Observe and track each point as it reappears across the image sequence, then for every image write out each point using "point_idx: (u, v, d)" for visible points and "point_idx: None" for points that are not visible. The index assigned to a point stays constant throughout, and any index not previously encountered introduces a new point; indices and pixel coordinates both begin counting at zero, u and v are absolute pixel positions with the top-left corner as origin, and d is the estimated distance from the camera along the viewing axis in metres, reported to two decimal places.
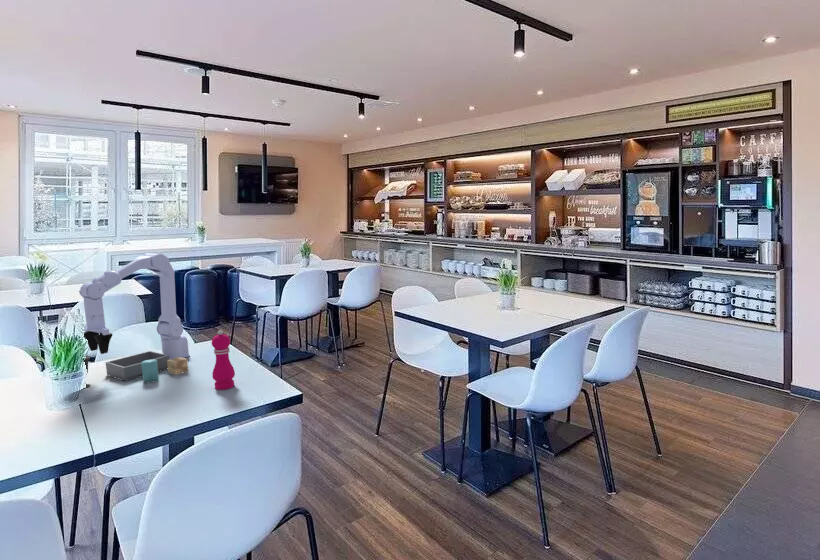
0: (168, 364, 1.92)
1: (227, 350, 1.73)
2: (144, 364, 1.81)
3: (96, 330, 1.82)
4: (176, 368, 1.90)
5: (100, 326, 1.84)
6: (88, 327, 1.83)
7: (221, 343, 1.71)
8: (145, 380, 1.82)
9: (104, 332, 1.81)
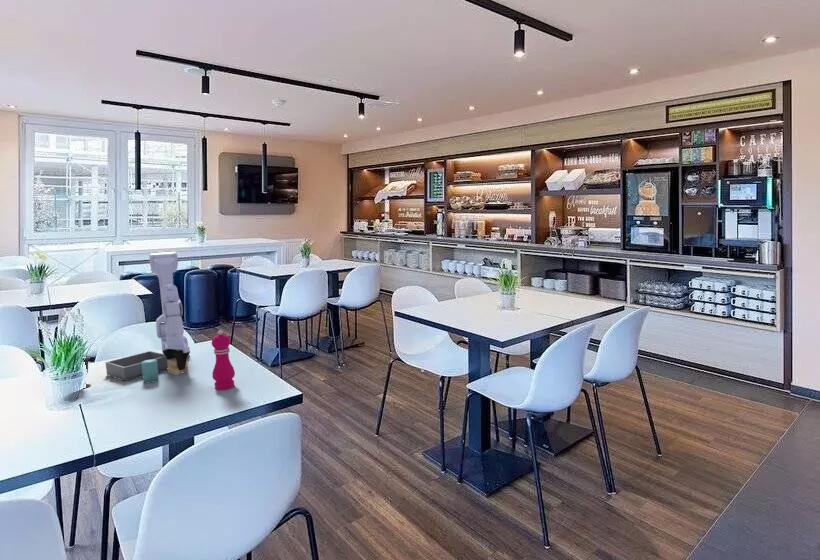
0: (168, 364, 1.92)
1: (227, 350, 1.73)
2: (144, 364, 1.81)
3: (177, 348, 1.88)
4: (176, 367, 1.90)
5: (180, 344, 1.90)
6: (169, 345, 1.89)
7: (221, 343, 1.71)
8: (145, 380, 1.82)
9: (185, 350, 1.87)
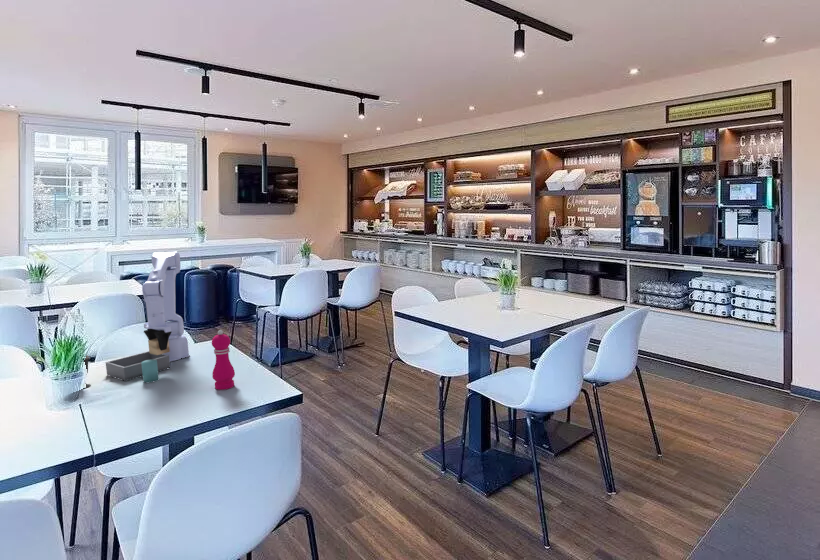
0: (149, 344, 1.90)
1: (227, 350, 1.73)
2: (144, 364, 1.81)
3: (158, 327, 1.86)
4: (158, 348, 1.88)
5: (161, 324, 1.89)
6: (150, 325, 1.87)
7: (221, 343, 1.71)
8: (145, 380, 1.82)
9: (166, 329, 1.86)
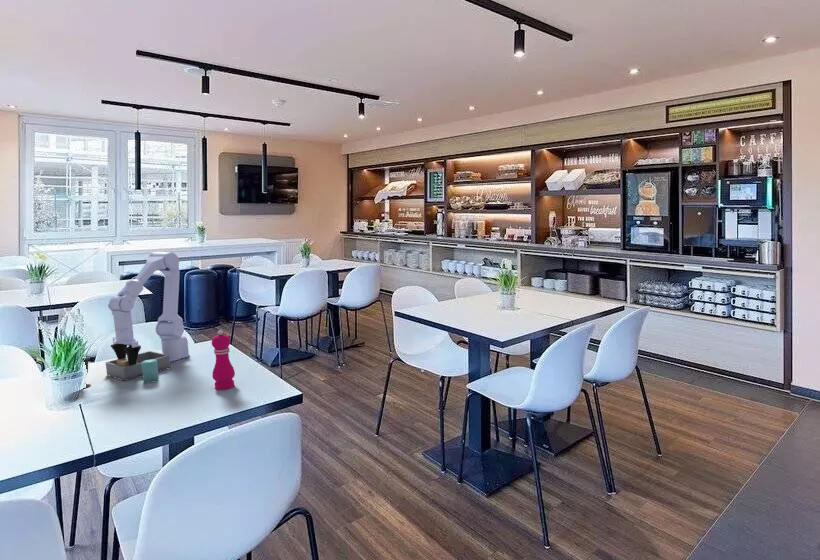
0: (118, 364, 1.90)
1: (227, 350, 1.73)
2: (144, 364, 1.81)
3: (125, 342, 1.86)
4: None
5: (129, 338, 1.88)
6: (117, 339, 1.87)
7: (221, 343, 1.71)
8: (145, 380, 1.82)
9: (133, 344, 1.85)
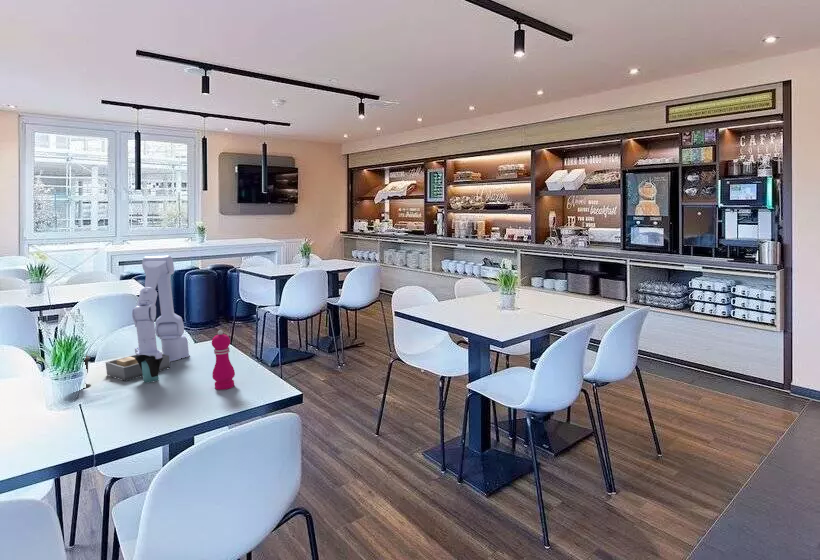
0: (118, 364, 1.90)
1: (227, 350, 1.73)
2: (144, 364, 1.81)
3: (149, 354, 1.79)
4: None
5: (152, 349, 1.82)
6: (140, 350, 1.80)
7: (221, 343, 1.71)
8: (145, 380, 1.82)
9: (157, 356, 1.79)
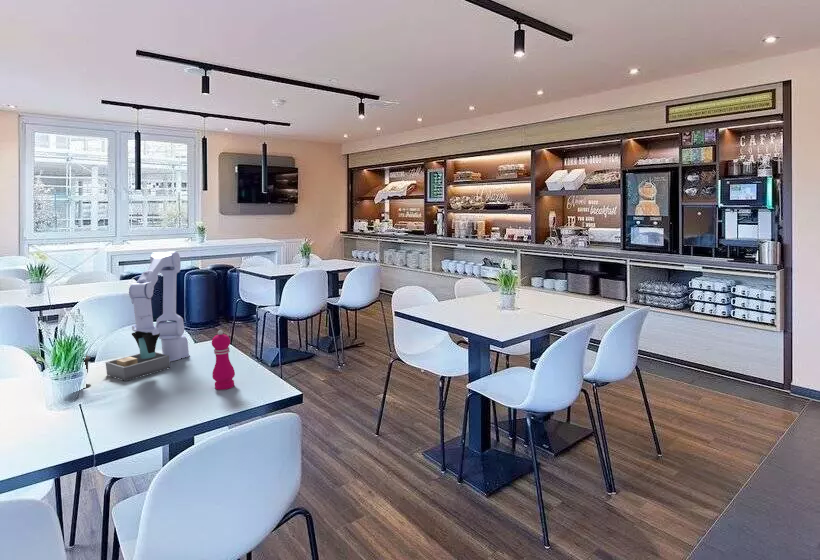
0: (118, 364, 1.90)
1: (227, 350, 1.73)
2: (141, 340, 1.85)
3: (146, 330, 1.83)
4: None
5: (149, 326, 1.86)
6: (137, 327, 1.84)
7: (221, 343, 1.71)
8: (142, 356, 1.86)
9: (154, 332, 1.83)
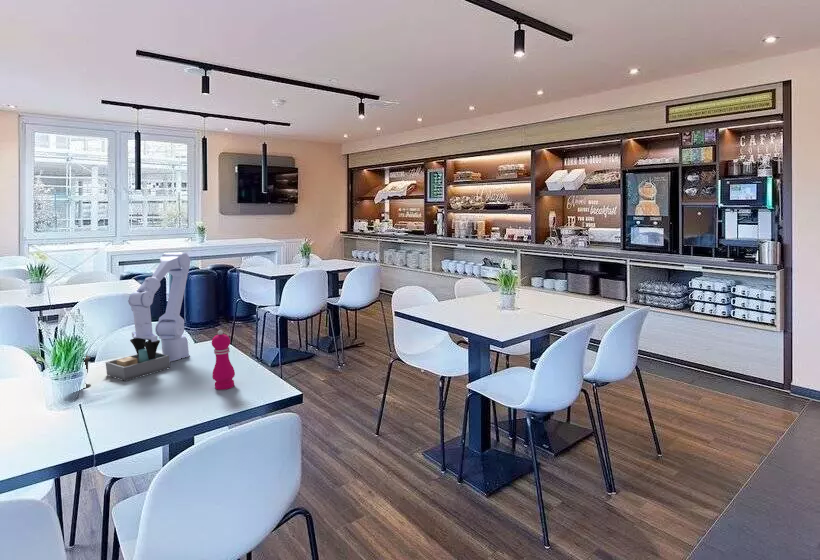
0: (118, 364, 1.90)
1: (227, 350, 1.73)
2: (141, 352, 1.93)
3: (145, 337, 1.91)
4: None
5: (148, 333, 1.93)
6: (137, 334, 1.92)
7: (221, 343, 1.71)
8: None
9: (153, 339, 1.90)
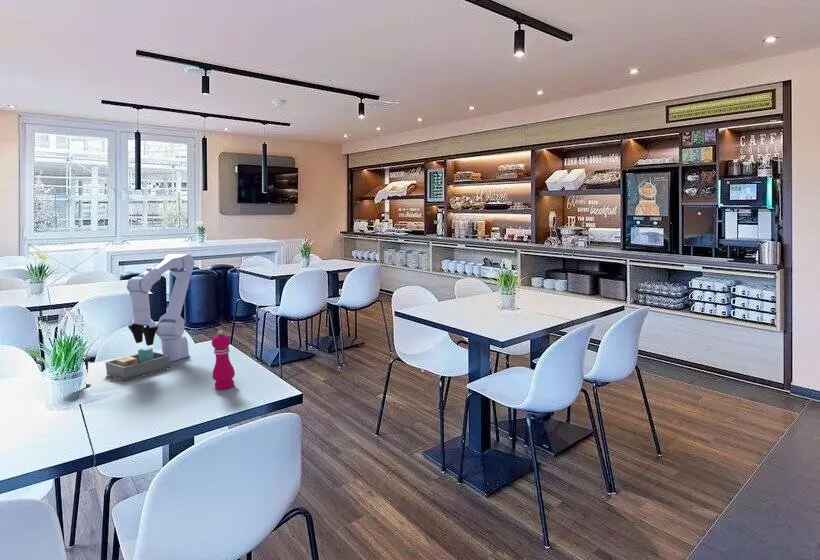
0: (118, 364, 1.90)
1: (227, 350, 1.73)
2: (141, 352, 1.93)
3: (143, 323, 1.90)
4: None
5: (146, 319, 1.92)
6: (135, 320, 1.91)
7: (221, 343, 1.71)
8: None
9: (151, 324, 1.89)
